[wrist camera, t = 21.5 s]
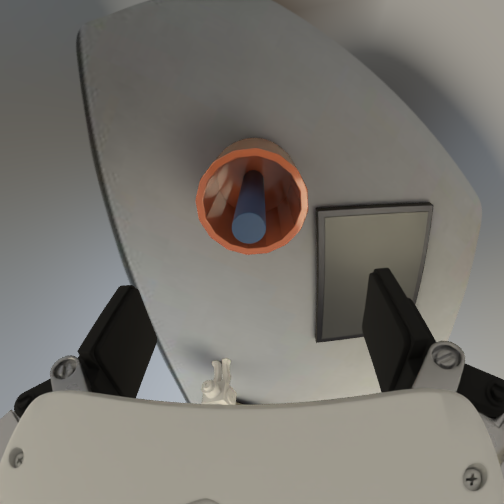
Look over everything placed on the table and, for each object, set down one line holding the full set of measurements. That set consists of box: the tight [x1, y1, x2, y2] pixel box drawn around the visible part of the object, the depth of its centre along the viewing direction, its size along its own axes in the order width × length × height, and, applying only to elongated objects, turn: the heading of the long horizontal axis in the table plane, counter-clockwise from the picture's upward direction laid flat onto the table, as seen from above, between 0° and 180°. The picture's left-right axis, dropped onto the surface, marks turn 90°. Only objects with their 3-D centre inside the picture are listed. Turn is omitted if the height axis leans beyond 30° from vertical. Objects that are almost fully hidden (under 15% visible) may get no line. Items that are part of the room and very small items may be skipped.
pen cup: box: [196, 138, 308, 255], centre depth 27 cm, size 9×9×9 cm
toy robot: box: [201, 358, 236, 405], centre depth 39 cm, size 4×8×12 cm, turn 24°
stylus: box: [232, 170, 266, 244], centre depth 24 cm, size 2×2×13 cm
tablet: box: [315, 202, 433, 343], centre depth 36 cm, size 20×15×1 cm
